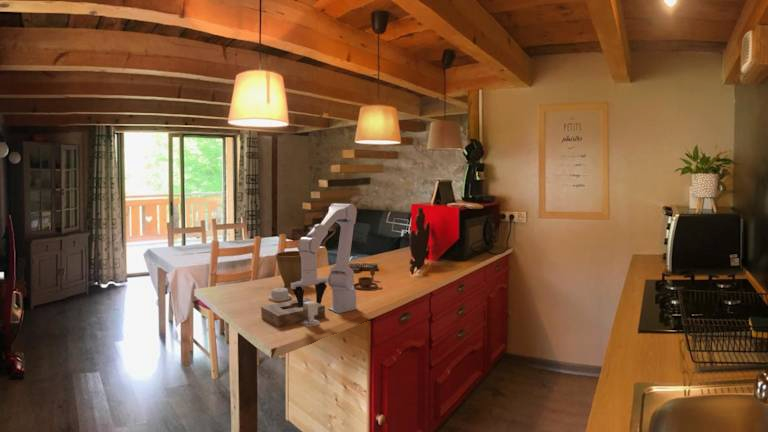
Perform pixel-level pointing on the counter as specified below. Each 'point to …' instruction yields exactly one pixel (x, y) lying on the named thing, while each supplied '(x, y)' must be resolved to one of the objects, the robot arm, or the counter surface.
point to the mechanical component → (279, 294)
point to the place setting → (366, 282)
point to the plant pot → (289, 266)
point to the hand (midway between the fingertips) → (309, 304)
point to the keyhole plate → (288, 313)
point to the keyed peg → (310, 313)
